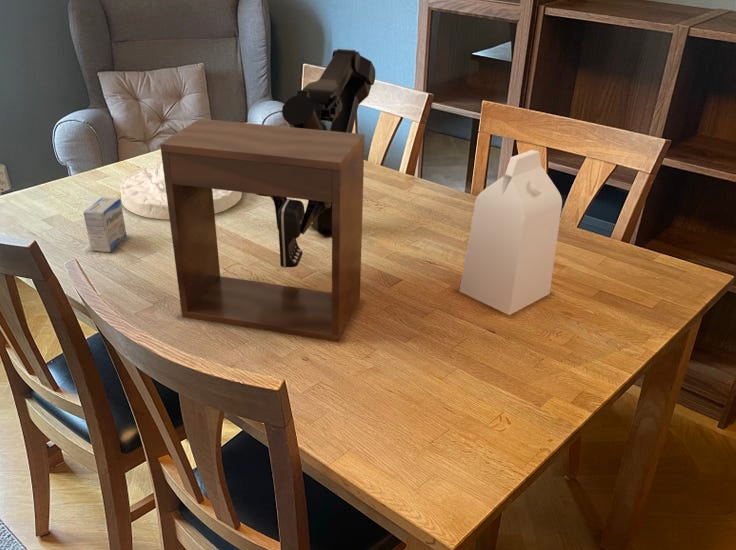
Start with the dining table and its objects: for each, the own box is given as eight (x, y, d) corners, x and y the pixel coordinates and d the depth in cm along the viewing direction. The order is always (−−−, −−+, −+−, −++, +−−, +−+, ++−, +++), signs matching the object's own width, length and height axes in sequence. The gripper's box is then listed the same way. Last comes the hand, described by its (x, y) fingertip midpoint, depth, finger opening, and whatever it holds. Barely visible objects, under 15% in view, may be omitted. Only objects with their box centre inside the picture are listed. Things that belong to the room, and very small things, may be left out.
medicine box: (110, 253, 149) (103, 213, 144) (90, 251, 150) (82, 211, 145) (127, 237, 156) (121, 198, 151) (107, 235, 156) (100, 196, 152)
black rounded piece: (300, 270, 136) (298, 212, 129) (279, 268, 136) (276, 210, 130) (307, 253, 141) (305, 196, 135) (288, 252, 142) (285, 195, 135)
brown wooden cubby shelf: (214, 280, 140) (199, 118, 123) (359, 302, 133) (364, 134, 116) (182, 316, 129) (159, 143, 112) (338, 342, 122) (340, 162, 105)
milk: (500, 271, 144) (519, 138, 129) (549, 293, 136) (576, 155, 122) (459, 291, 137) (474, 153, 122) (509, 315, 130) (531, 171, 115)
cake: (96, 208, 168) (89, 167, 163) (165, 169, 190) (160, 132, 184) (202, 228, 160) (198, 186, 154) (262, 185, 181) (260, 146, 176)
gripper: (247, 126, 131) (227, 208, 128) (349, 135, 126) (330, 221, 124) (265, 155, 141) (247, 231, 139) (359, 165, 137) (343, 244, 135)
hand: (290, 231), depth 134 cm, fingers closed on black rounded piece, 4 cm apart
